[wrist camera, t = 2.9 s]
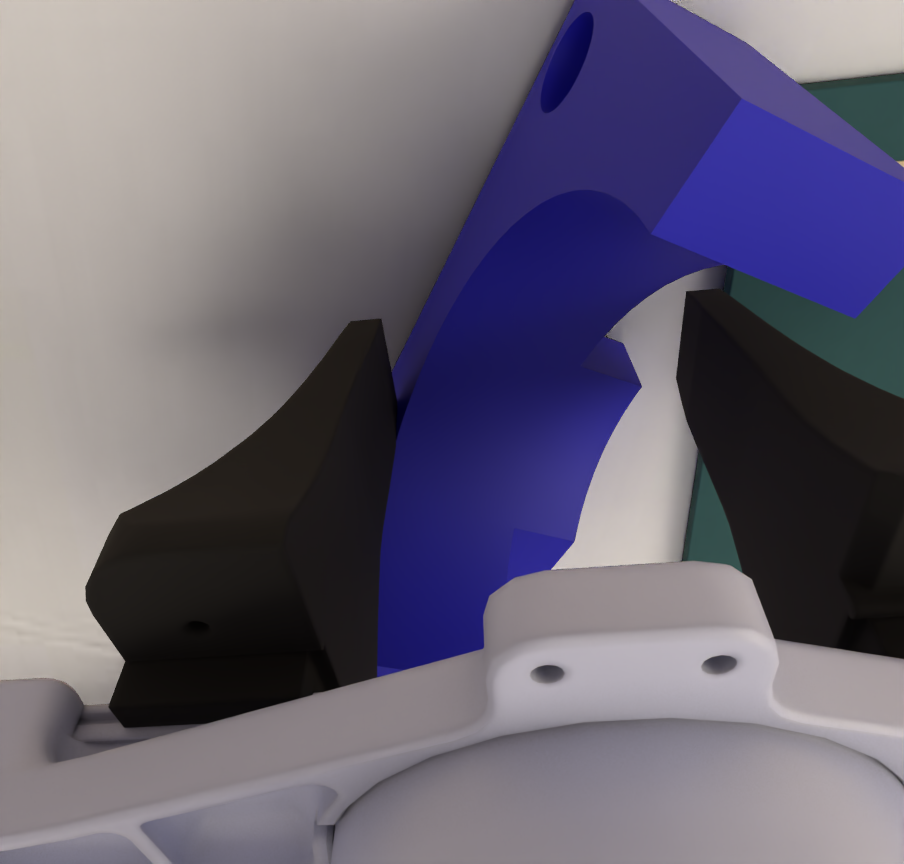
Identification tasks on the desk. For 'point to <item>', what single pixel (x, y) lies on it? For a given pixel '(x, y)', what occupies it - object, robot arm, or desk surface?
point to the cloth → (820, 306)
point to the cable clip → (601, 289)
